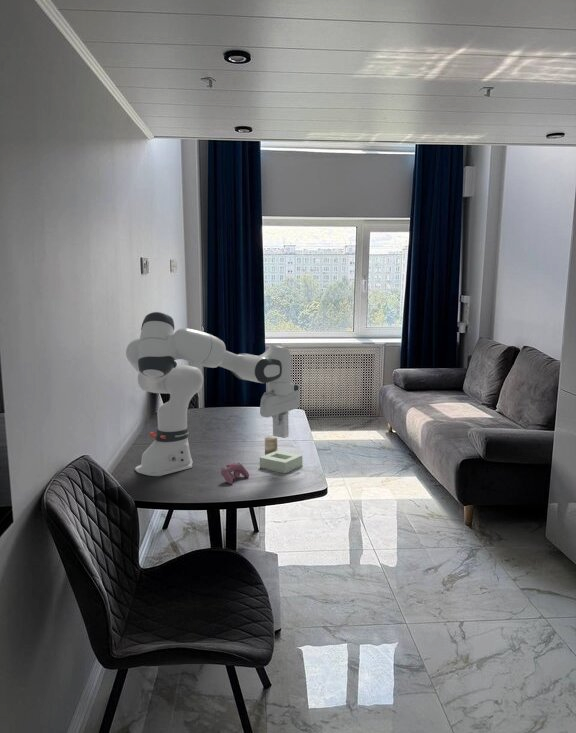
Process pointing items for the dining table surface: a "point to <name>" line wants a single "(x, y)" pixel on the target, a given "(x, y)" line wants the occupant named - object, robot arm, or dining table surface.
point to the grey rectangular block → (281, 426)
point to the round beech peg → (270, 445)
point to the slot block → (281, 461)
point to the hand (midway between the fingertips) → (280, 424)
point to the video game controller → (237, 470)
